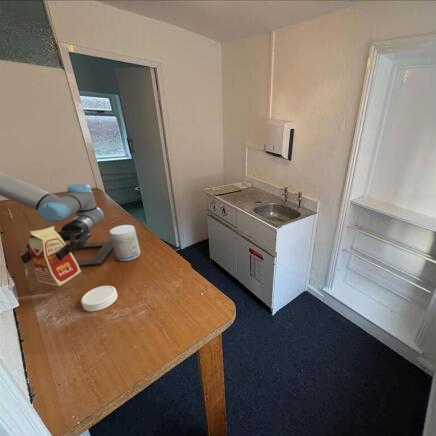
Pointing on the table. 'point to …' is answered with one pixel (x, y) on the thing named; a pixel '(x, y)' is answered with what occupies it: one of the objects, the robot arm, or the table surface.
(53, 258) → the milk carton
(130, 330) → the table surface
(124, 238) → the supplement tub
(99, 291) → the coaster
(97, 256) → the holder board
